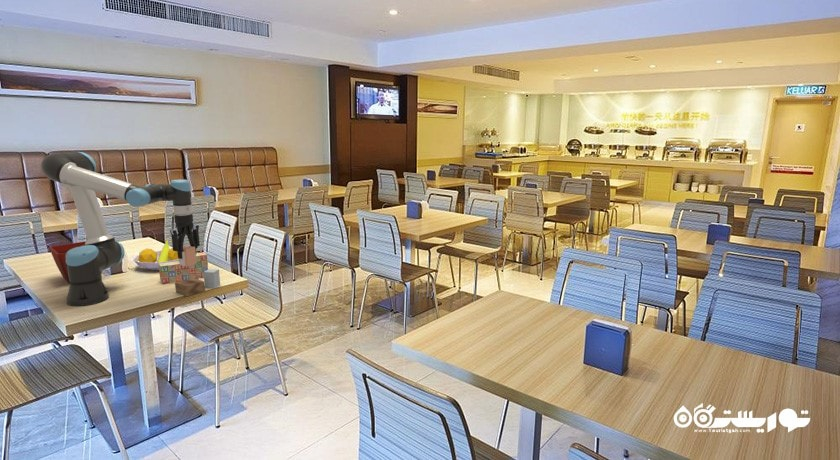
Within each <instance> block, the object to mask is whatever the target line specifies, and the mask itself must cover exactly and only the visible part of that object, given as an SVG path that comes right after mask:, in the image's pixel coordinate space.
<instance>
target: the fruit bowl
mask: <svg viewBox="0 0 840 460" xmlns="http://www.w3.org/2000/svg"><path fill="white" fill-rule="evenodd" d="M132 261H134V263H135V264H136V265H137V266H138V267H139V268H142V269H147V270H151V271H159V263H167V262H175V261H179V259H178V253H177V251H173V246H172V247H171V248H170V245H169V241H168V239H167V240H165V243H164V245H163V247H162V249H161V250H157V251H156V250H154V249H151V248H145V249H143V250H141V251H140V252H139V253H138V254H137V255H136V256H135V257H134V258H133V259H132ZM138 261H139V262H138Z"/></svg>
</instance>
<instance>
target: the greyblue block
mask: <svg viewBox="0 0 840 460" xmlns="http://www.w3.org/2000/svg"><path fill="white" fill-rule="evenodd" d="M203 281H204V284H205V289H216V288H218V287H220V286H221V277H220V269H218V268H208V270H206V271H204V278H203ZM217 286H218V287H217Z"/></svg>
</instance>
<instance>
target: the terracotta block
mask: <svg viewBox="0 0 840 460" xmlns="http://www.w3.org/2000/svg"><path fill="white" fill-rule="evenodd" d="M183 251H184V255H185V266H190V265H194V264H197V260H196V253H197V249H196V250H195V247H193V246H190V245H185V246H184V245H183ZM179 261H180V260H179Z"/></svg>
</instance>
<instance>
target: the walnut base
mask: <svg viewBox="0 0 840 460" xmlns="http://www.w3.org/2000/svg"><path fill="white" fill-rule="evenodd" d="M174 287H175V293H177V294H180V295H182V296H185V297H189V296H193V295H196V294H199V293H203V292H205V291H206V288H205V283H204V280H202V279H195V278H191V279H187V280H183V281H179V282H174Z"/></svg>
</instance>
